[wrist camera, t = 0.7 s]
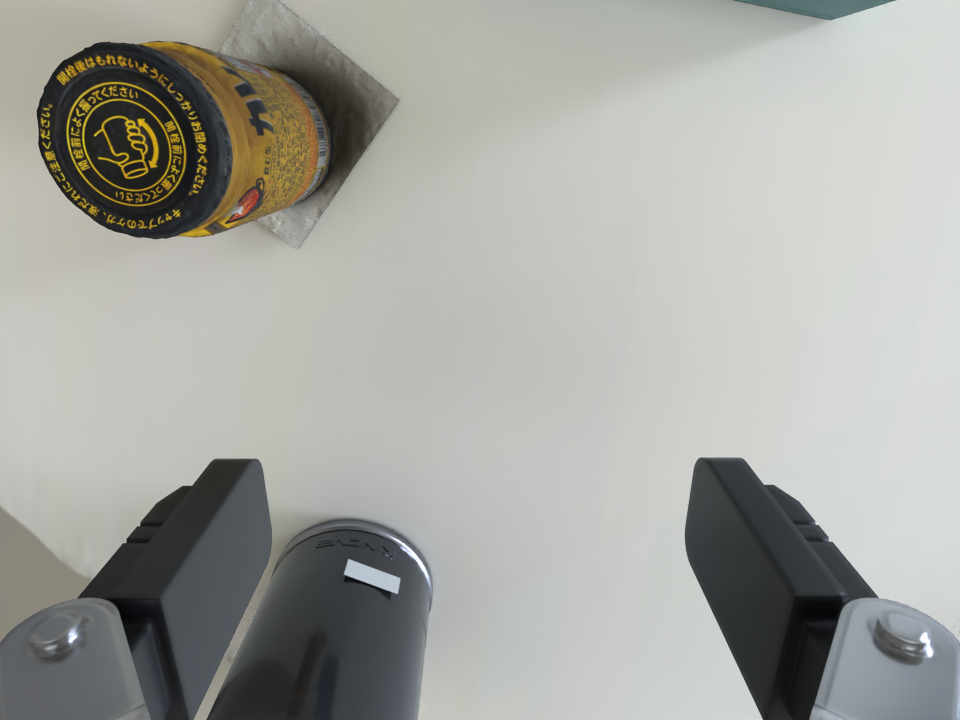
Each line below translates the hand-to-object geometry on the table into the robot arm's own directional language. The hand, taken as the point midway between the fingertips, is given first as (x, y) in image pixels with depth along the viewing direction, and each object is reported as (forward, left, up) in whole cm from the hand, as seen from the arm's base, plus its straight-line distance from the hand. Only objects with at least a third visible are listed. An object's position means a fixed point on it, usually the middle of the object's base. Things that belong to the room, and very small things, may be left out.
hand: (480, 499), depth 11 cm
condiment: (+5, +10, -20) cm, 23 cm away
